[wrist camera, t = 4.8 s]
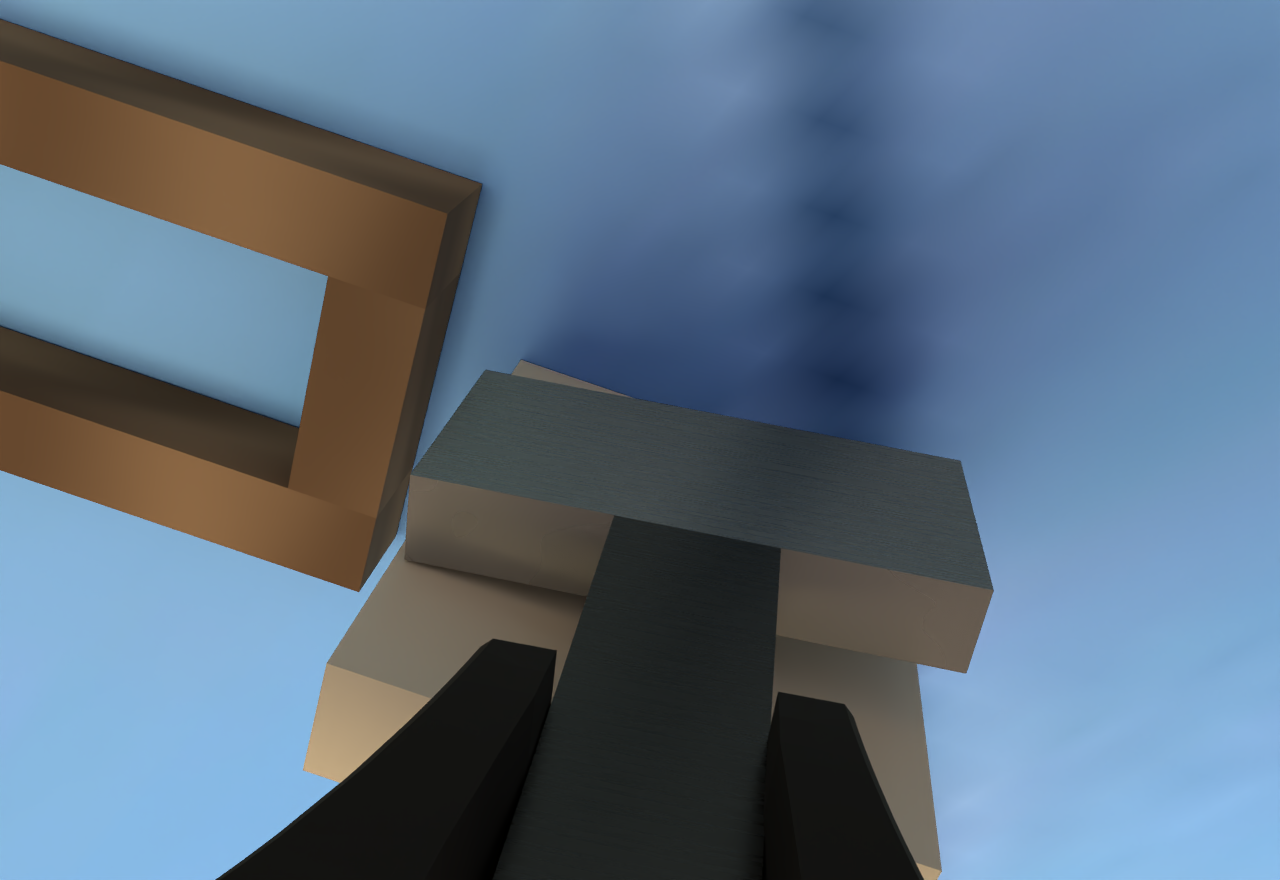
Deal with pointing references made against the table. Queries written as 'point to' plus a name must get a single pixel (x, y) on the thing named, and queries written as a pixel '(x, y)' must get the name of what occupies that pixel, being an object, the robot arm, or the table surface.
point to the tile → (500, 609)
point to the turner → (685, 601)
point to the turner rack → (266, 223)
